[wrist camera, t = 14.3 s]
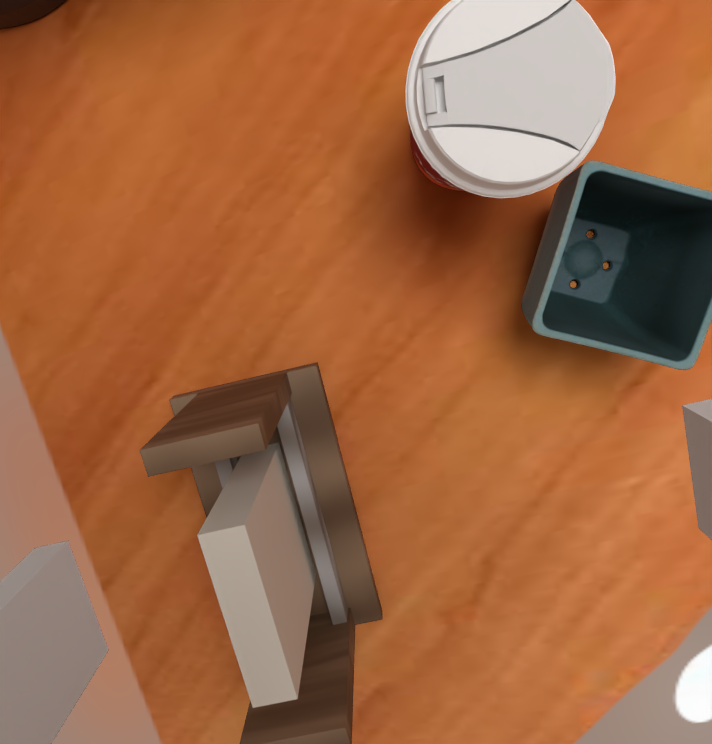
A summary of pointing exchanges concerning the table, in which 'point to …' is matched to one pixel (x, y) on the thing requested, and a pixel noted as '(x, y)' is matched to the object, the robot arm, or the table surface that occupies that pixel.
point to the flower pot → (625, 266)
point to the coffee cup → (507, 94)
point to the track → (319, 521)
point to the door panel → (261, 574)
